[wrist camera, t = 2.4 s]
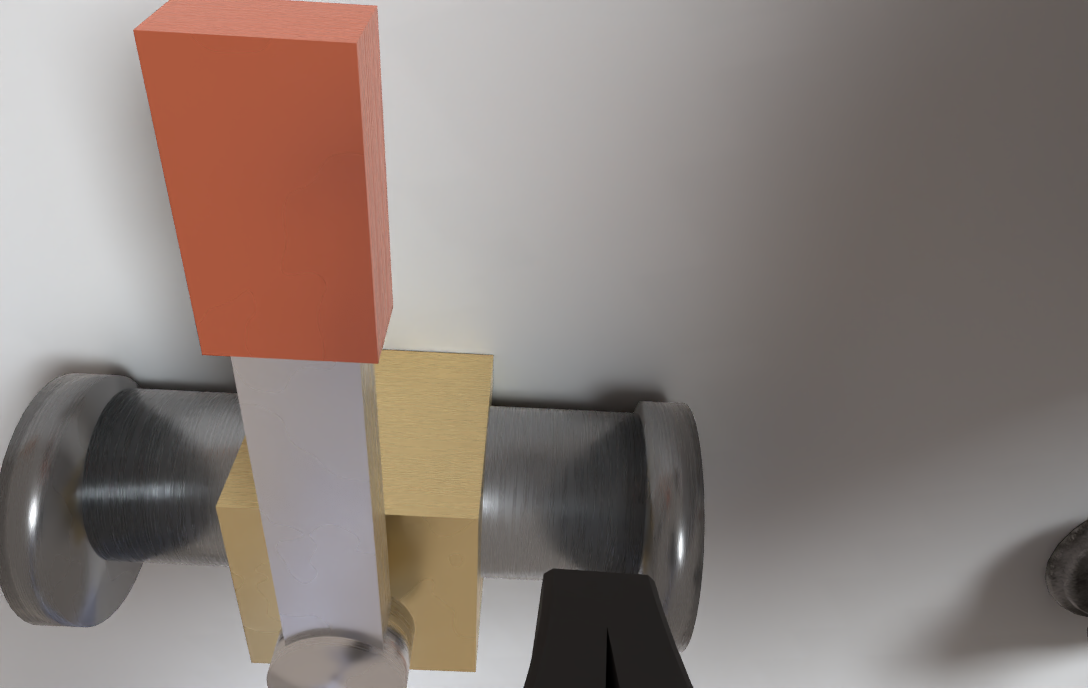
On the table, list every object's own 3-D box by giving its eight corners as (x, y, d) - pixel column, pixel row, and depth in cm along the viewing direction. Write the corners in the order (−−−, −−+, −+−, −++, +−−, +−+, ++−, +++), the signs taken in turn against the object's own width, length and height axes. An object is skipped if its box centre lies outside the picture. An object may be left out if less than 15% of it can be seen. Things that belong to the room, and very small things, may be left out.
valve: (138, 493, 24) (42, 678, 20) (87, 324, 21) (-40, 499, 16) (652, 517, 25) (674, 703, 20) (682, 354, 21) (717, 534, 17)
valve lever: (416, 665, 19) (407, 728, 18) (292, 660, 19) (275, 722, 18) (386, 6, 11) (365, 43, 10) (168, -7, 11) (123, 29, 10)
